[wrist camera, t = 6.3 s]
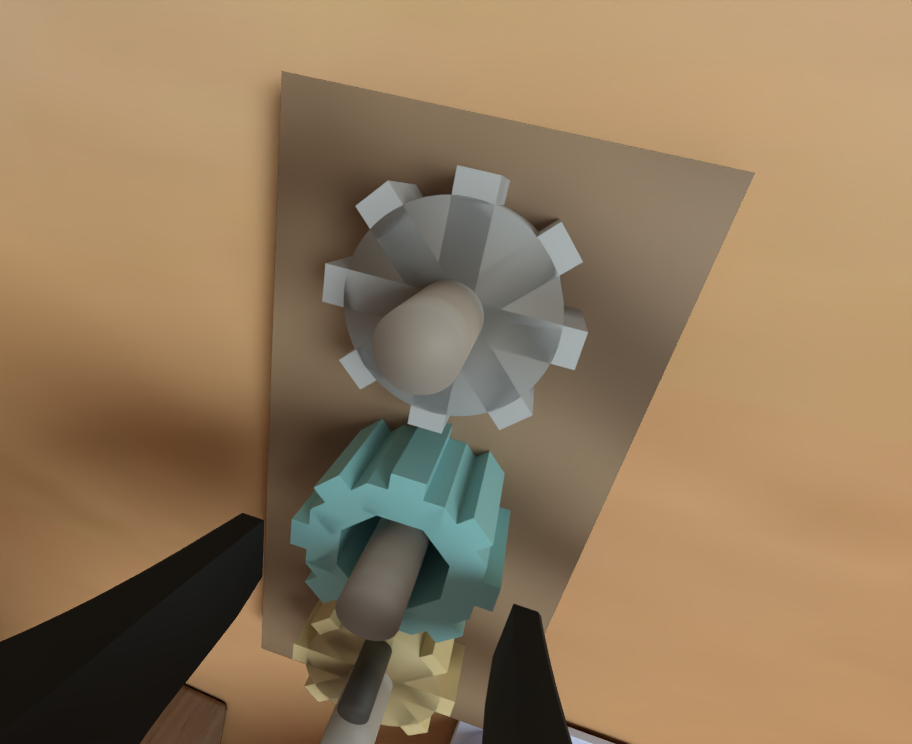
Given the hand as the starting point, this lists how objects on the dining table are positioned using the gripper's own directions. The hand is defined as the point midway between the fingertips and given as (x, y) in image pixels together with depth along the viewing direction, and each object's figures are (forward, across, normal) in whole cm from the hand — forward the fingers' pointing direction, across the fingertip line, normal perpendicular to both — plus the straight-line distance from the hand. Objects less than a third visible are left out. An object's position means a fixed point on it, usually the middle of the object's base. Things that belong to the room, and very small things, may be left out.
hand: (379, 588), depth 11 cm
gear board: (+5, 0, 0) cm, 5 cm away
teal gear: (+4, 0, 0) cm, 4 cm away
